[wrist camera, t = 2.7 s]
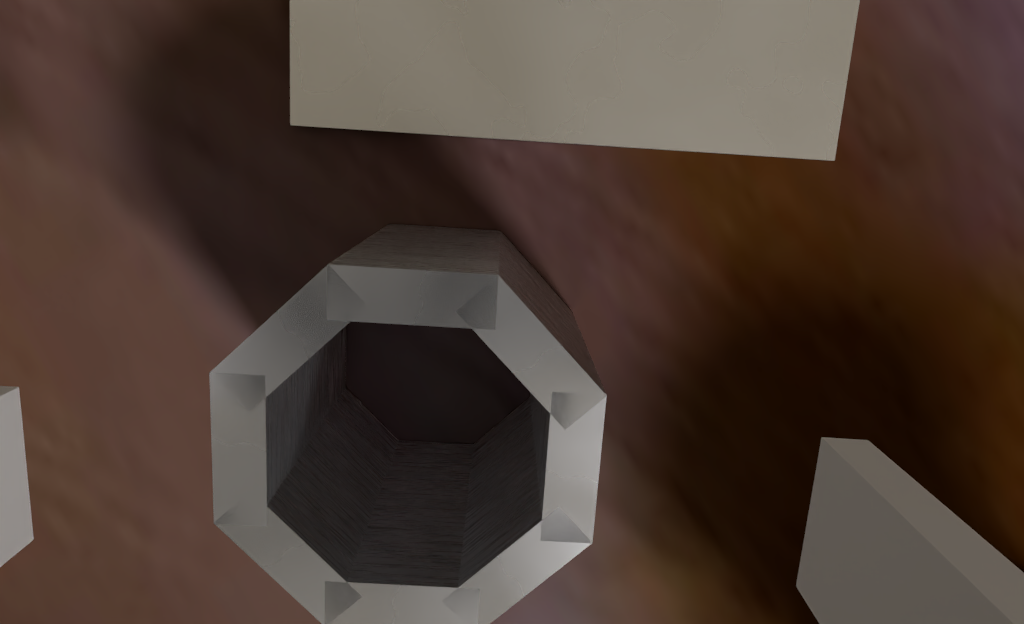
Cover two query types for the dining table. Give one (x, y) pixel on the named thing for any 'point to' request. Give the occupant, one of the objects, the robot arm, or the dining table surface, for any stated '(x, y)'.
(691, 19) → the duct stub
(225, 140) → the dining table surface
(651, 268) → the dining table surface
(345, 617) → the grey hollow octagonal block
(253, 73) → the dining table surface
